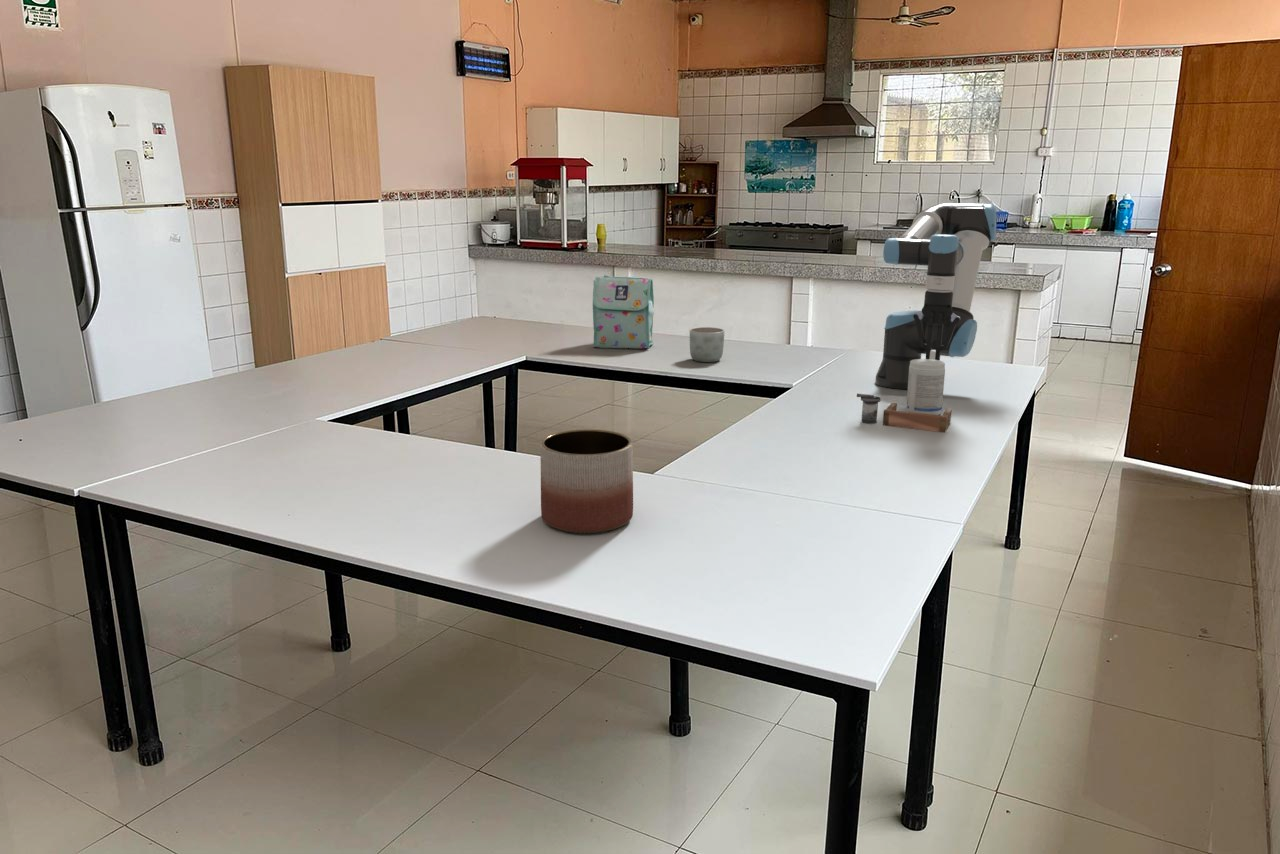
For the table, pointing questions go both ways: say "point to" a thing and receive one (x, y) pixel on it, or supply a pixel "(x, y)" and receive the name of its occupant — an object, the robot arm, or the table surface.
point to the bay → (916, 419)
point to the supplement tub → (925, 386)
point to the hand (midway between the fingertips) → (931, 372)
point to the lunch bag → (623, 312)
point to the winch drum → (869, 408)
